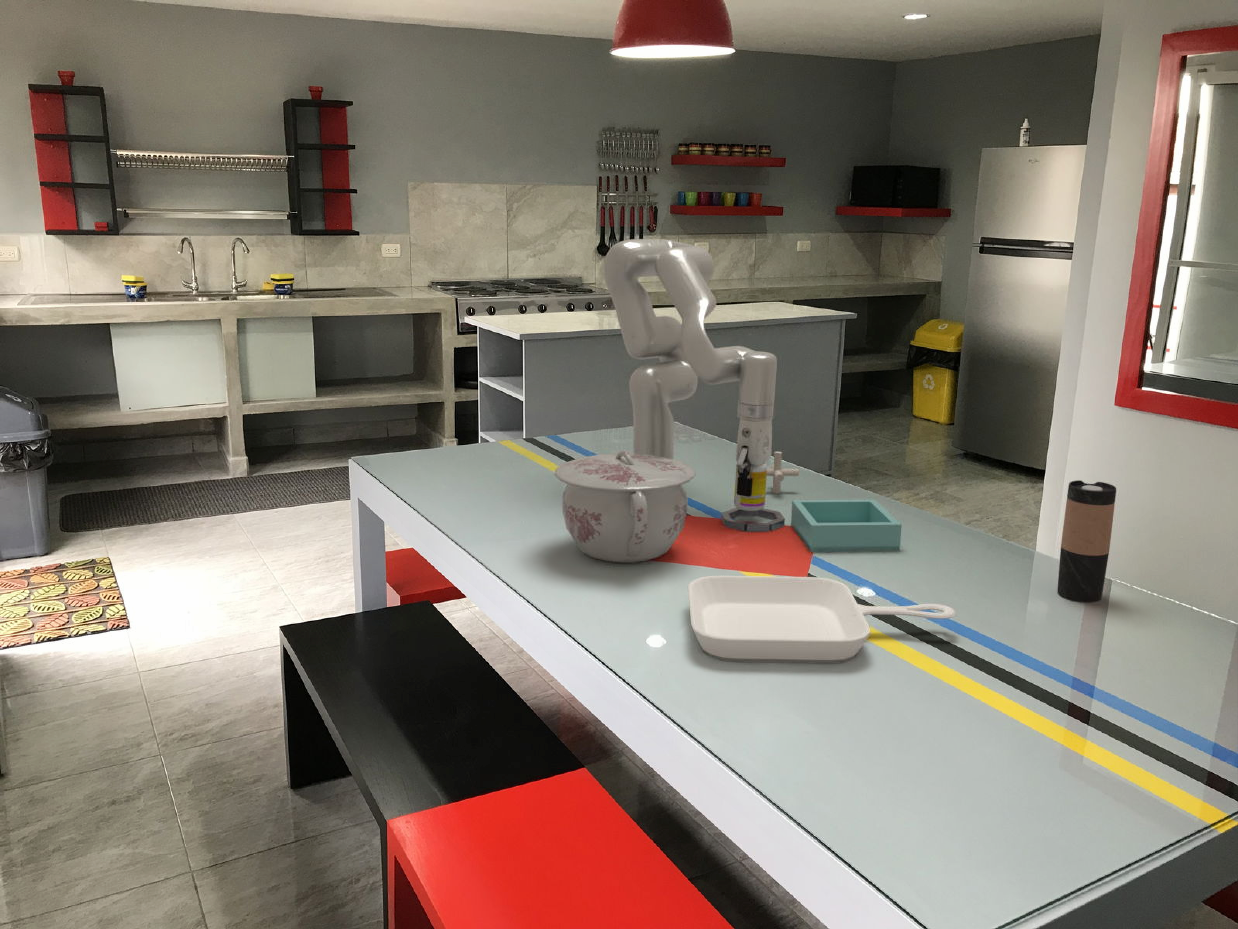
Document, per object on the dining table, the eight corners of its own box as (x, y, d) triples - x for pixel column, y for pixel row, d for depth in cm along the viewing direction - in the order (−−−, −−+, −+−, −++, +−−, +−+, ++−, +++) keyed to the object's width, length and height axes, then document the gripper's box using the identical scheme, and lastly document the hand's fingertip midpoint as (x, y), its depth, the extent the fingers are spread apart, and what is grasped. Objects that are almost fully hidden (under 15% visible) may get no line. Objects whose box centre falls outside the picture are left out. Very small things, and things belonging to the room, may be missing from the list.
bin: (810, 551, 198) (811, 525, 197) (791, 524, 216) (792, 500, 214) (899, 550, 199) (901, 524, 198) (873, 524, 216) (874, 499, 215)
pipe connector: (800, 498, 236) (802, 457, 234) (758, 498, 236) (759, 457, 234) (794, 487, 246) (795, 447, 243) (753, 487, 246) (754, 447, 244)
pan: (686, 600, 174) (686, 574, 173) (930, 603, 172) (932, 578, 171) (692, 667, 148) (692, 638, 147) (979, 672, 146) (982, 643, 145)
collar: (727, 532, 211) (727, 525, 210) (718, 514, 223) (718, 507, 223) (788, 531, 211) (788, 524, 211) (776, 513, 224) (776, 507, 224)
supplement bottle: (770, 509, 216) (774, 452, 213) (745, 513, 213) (749, 455, 210) (752, 501, 222) (756, 445, 218) (727, 504, 219) (731, 447, 215)
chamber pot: (600, 524, 216) (600, 430, 211) (716, 544, 203) (719, 445, 198) (526, 561, 192) (523, 456, 187) (651, 587, 179) (652, 475, 174)
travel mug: (1083, 606, 171) (1096, 493, 166) (1046, 591, 177) (1058, 483, 173) (1112, 598, 174) (1127, 488, 169) (1075, 584, 181) (1088, 478, 176)
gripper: (758, 420, 202) (752, 504, 207) (785, 405, 217) (779, 484, 222) (723, 415, 206) (718, 498, 210) (752, 401, 221) (747, 479, 225)
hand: (750, 490), depth 216 cm, fingers closed on supplement bottle, 6 cm apart
